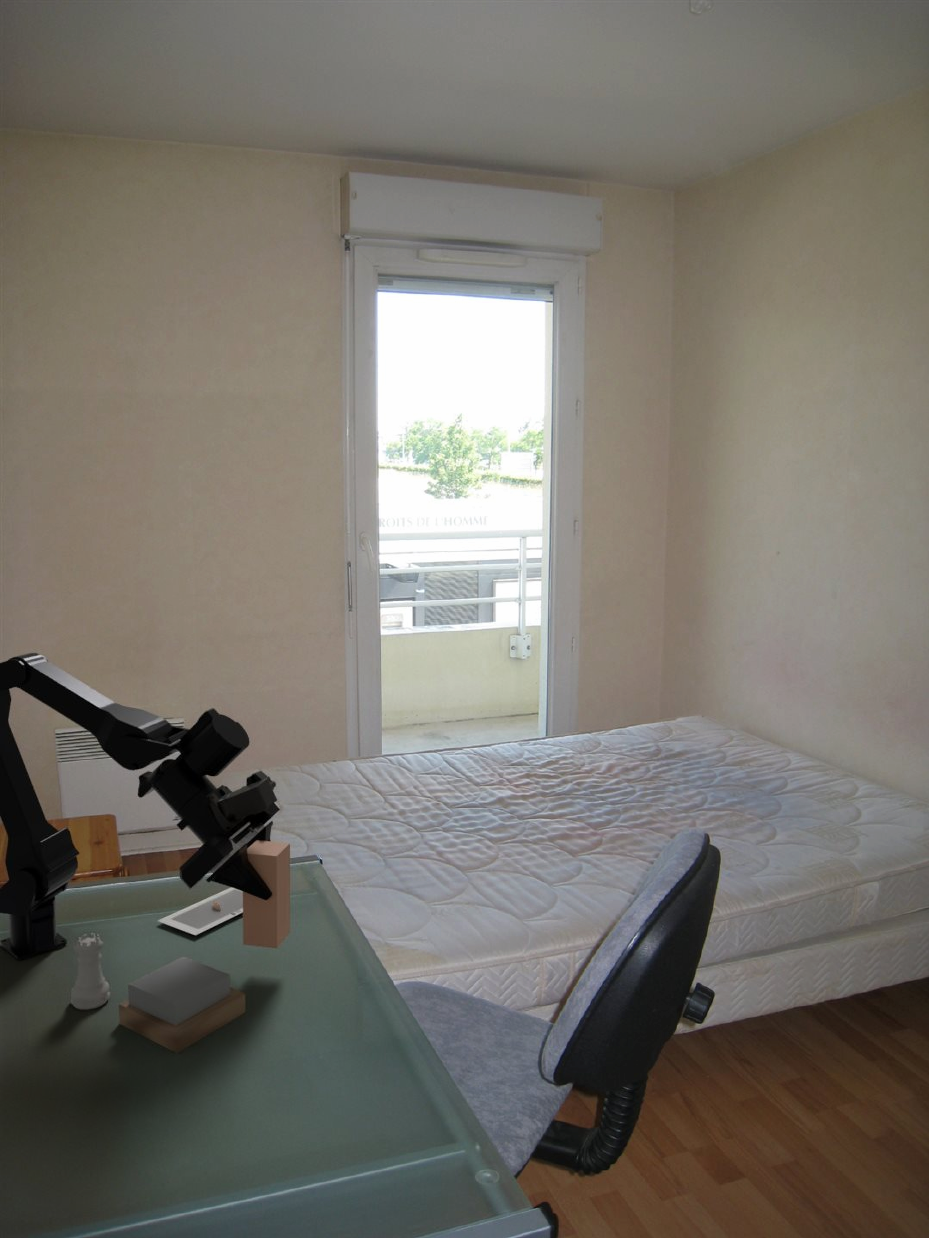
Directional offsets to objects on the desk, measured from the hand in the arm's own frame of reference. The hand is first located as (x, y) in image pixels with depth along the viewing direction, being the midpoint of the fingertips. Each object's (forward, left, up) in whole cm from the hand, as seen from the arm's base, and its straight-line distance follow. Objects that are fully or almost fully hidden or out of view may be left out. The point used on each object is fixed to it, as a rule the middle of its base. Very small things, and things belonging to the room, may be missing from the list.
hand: (277, 889), depth 118 cm
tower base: (+1, -14, -12) cm, 18 cm away
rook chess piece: (-10, -20, -11) cm, 25 cm away
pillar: (-1, -1, -7) cm, 7 cm away
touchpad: (-21, +4, -12) cm, 24 cm away
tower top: (+1, -14, -9) cm, 17 cm away
